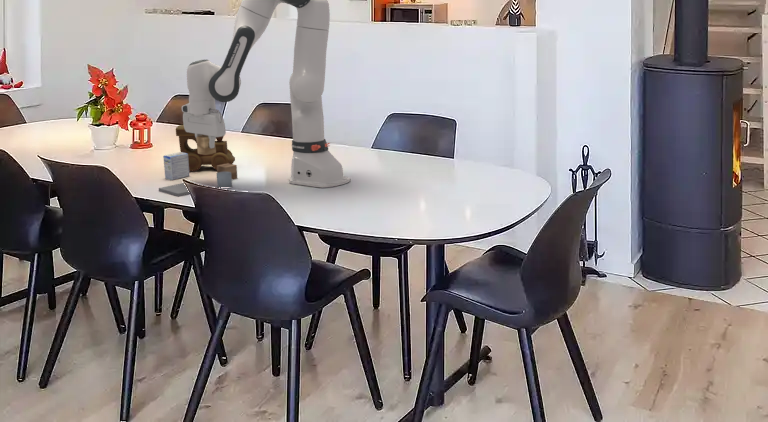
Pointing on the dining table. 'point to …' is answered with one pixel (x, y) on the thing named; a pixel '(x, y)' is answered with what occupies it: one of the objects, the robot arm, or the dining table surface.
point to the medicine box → (176, 165)
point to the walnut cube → (228, 169)
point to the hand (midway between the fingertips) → (206, 147)
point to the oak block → (204, 145)
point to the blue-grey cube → (224, 179)
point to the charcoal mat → (175, 190)
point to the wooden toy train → (197, 159)
